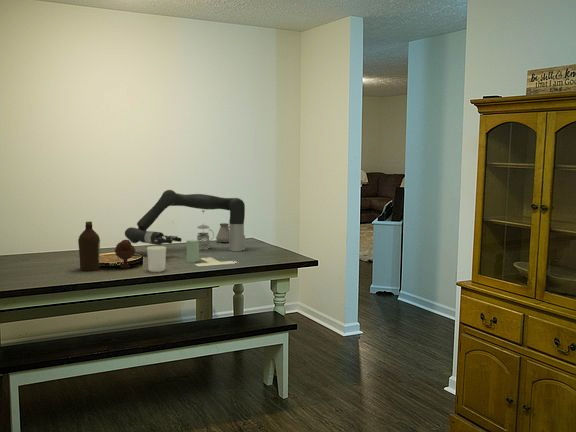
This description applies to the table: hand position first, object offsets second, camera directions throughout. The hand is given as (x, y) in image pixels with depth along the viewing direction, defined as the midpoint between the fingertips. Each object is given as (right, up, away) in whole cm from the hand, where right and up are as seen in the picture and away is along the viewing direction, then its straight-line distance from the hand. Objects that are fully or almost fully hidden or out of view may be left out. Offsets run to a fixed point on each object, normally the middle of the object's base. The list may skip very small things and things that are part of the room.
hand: (176, 240), depth 325 cm
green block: (+10, -12, -4) cm, 16 cm away
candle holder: (-4, -14, -29) cm, 33 cm away
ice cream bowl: (-23, -13, -22) cm, 35 cm away
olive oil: (-39, -14, -30) cm, 51 cm away
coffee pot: (+23, -5, +62) cm, 66 cm away
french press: (+10, -7, +40) cm, 42 cm away
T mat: (+21, -12, -3) cm, 24 cm away
